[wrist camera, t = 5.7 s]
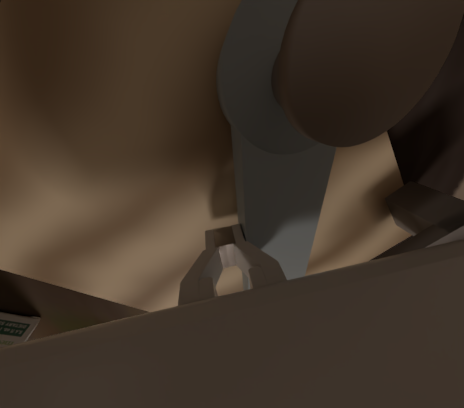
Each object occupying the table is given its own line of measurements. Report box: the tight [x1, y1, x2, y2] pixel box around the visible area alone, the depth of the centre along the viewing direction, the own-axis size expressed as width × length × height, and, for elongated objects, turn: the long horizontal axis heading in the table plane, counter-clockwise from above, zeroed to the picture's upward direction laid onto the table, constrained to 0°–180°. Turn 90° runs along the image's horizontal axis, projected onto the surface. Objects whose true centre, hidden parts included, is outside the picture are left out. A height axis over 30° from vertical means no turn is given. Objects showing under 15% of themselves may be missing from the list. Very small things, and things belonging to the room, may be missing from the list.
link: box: [216, 0, 337, 291], centre depth 10 cm, size 20×5×2 cm, turn 4°
